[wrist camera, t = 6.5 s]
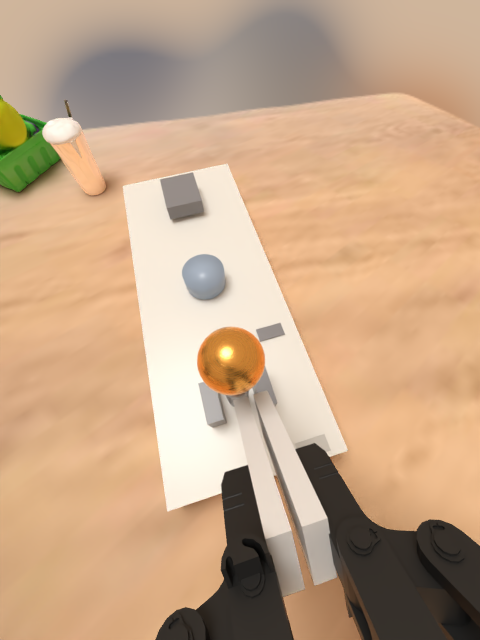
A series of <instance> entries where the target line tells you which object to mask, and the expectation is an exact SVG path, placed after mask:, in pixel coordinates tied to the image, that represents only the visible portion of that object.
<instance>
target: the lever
mask: <svg viewBox="0 0 480 640" xmlns="http://www.w3.org/2000/svg"><path fill="white" fill-rule="evenodd" d="M197 367H198V371H199V374H200V376H201V378H202V380H203V381H204V383H205V384H206V385H207V386H208V387H209V388H210V389H212V390H213V391H215V392H217V393H220V394H223V395H226V397H227V399H228V401H229V403H230V404H231V405H232V406H233V407H234V403H233V400H236V399H239V398H243V397H246V396H247V397H248V395H249V390H250V389H251V388H253V387H254V386H255V385H256V384H257V383H258V381H259V380H260V378H261V377H262V374H263V372H264V368H265V354H264V350H263V348H262V345H261V344H260V342H259V340H258V339H257V338H256V337H255V336H254V335H253V334H252V333H250V332H249V331H247V330H245V329H243V328H239V327H231V326H230V327H223V328H220V329H217V330H215V331H214V332H212V333H211V334H209V335H208V336H207V337H206V338H205V340H204V341H203V342H202V344H201V346H200V348H199V351H198V355H197Z"/></svg>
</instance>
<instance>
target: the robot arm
mask: <svg viewBox="0 0 480 640" xmlns="http://www.w3.org/2000/svg"><path fill="white" fill-rule="evenodd" d="M253 396H254V401H255V405H256V409H257V413H258V417H259V421H260V425H261V429H262V434H263V437H264V440H265V443H266V446H267V449H268V452H269V455H270V458H271V461H272V463H273V466H274V469H275V472H276V475H277V478H278V481H279V484H280V487H281V490H282V493H283V496H284V498H285V501H286V504H287V507H288V510H289V513H290V516H291V519H292V522H293V525H294V528H295V531H296V533H297V536H298V539H299V542H300V545H301V548H302V551H303V554H304V557H305V560H306V563H307V566H308V568H309V571H310V574H311V577H312V580H313V583H314V586H315V585H318V584H321V583H323V582H326V581H329V580H332V579H334V578H337V573H338V576H339V578H340V580H341V583H342V585H343V588H344V592H345V599H346V606H347V610H348V614H349V618H350V617H353V619H354V621H355V624H356V626H357V629H358V631H359V634H360V636H361V639H362V640H480V546H479V545H478V544H477V543H476V542H474V541H473V540H472V539H471V538H470V537H468V536H467V535H466V534H465V533H464V532H462V531H461V530H459V529H458V528H456V527H455V526H453V525H452V524H449V523H446V522H444V521H441V520H428V521H425V522H422V523H421V525H420V526H419V527H418V529H417V531H398V530H390V529H386V528H383V527H381V526H379V525H377V524H375V523H374V522H372V521H371V520H370V519H369V518H368V517H367V516H366V515H365V514H364V513H363V511H362V510H361V509H360V507H359V505H358V504H357V502H356V500H355V499H354V497H353V495H352V494H351V492H350V491H349V489H348V487H347V486H346V484H345V482H344V481H343V479H342V477H341V476H340V474H339V473H338V471H337V469H336V468H335V466H334V464H333V463H332V461H331V459H330V458H329V456H328V455H327V453H326V451H325V450H323V449H322V448H321V447H320V446H318V445H317V444H316V443H313V444H310V445H307V446H303V447H300V448H297V449H295V448H294V446H293V444H292V442H291V440H290V438H289V435H288V433H287V431H286V429H285V427H284V425H283V423H282V421H281V419H280V416H279V414H278V412H277V410H276V408H275V406H274V404H273V402H272V399H271V397H270V395H269V393H268V391H263V392H260V393H257V394H253ZM233 403H234V407H235V411H236V416H237V420H238V424H239V428H240V433H241V437H242V441H243V446H244V450H245V454H246V458H247V463H248V465H246V466H242V467H239V468H236V469H233V470H230V471H226V472H225V473H224V476H223V480H222V483H221V490H222V499H223V510H224V519H225V529H226V538H227V547H226V549H225V551H224V554H223V556H222V561H221V572H222V574H223V577H224V581H223V583H222V585H221V586H220V588H219V589H218V590H217V592H216V593H215V594H214V595H213V596H212V597H211V598H209V599H208V600H207V601H206V602H205V603H203V604H202V605H201V606H200V607H199V608H198V609H196V610H195V609H191V608H187V607H185V608H182V609H179V610H176V611H175V612H174V613H173V614H172V615H170V616H169V617H168V618H167V619H166V621H165V622H164V624H163V625H162V627H161V628H160V630H159V632H158V635H157V637H156V640H294V639H293V635H292V631H291V627H290V623H289V620H288V616H287V612H286V608H285V604H284V600H283V597H285V596H288V595H290V594H293V593H296V592H299V591H301V590H304V589H305V586H304V582H303V578H302V573H301V569H300V565H299V560H298V556H297V552H296V547H295V543H294V539H293V534H292V530H291V527H290V524H289V521H288V518H287V515H286V512H285V509H284V506H283V503H282V500H281V497H280V494H279V491H278V488H277V485H276V482H275V479H274V476H273V473H272V470H271V467H270V463H269V460H268V457H267V454H266V451H265V448H264V445H263V442H262V439H261V436H260V433H259V430H258V427H257V424H256V421H255V418H254V415H253V412H252V409H251V406H250V403H249V400H248V397H247V396H246V397H243V398H239V399H236V400H233ZM336 571H337V573H336Z"/></svg>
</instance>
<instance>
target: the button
mask: <svg viewBox="0 0 480 640" xmlns="http://www.w3.org/2000/svg"><path fill="white" fill-rule="evenodd" d="M182 277H183V279H184V282H185V285H186V287H187V290H188V292H189V293H190V294H191V295H192V296H193V297H195V298H198V299H202V300H207V299H212V298H214V297H216V296H218V295H219V294H220V293H221V292H222V291H223V289H224V287H225V283H226V280H225V273H224V267H223V264H222V262H221V261H220V260H219V259H218V258H217V257H215V256H213V255H209V254H200V255H196V256H194V257H192V258H190V259H189V260H188V261H187V262H186V263H185V264H184V266H183V269H182Z"/></svg>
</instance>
